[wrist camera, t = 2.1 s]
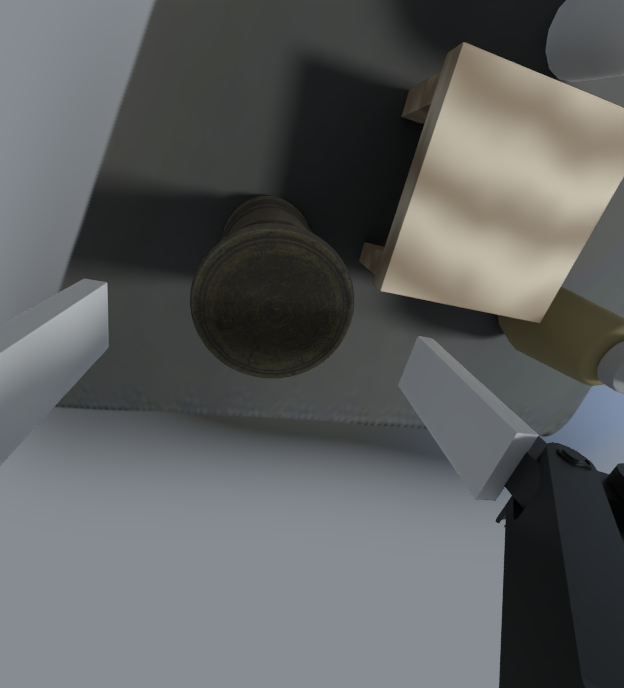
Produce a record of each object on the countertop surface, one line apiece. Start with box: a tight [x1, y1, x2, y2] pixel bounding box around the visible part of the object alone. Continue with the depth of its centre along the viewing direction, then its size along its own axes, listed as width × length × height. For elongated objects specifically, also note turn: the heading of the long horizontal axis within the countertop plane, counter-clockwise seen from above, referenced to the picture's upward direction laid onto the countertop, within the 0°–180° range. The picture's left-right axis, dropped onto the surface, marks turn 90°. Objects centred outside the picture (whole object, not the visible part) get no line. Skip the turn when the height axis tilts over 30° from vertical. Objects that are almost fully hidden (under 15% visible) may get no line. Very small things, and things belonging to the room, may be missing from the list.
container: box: [190, 196, 354, 378], centre depth 25 cm, size 9×9×18 cm
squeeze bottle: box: [498, 287, 624, 393], centre depth 32 cm, size 8×8×18 cm
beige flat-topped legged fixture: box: [359, 42, 624, 323], centre depth 29 cm, size 16×16×9 cm
